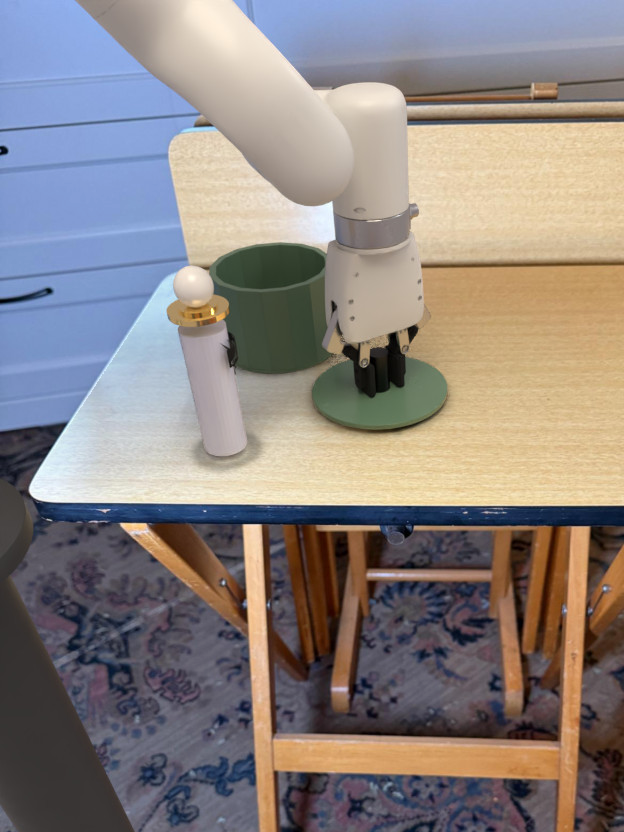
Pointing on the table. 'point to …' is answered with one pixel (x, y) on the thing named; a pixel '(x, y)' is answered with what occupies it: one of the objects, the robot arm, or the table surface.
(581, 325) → the table surface
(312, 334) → the tin
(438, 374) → the tin lid
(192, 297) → the perfume bottle
